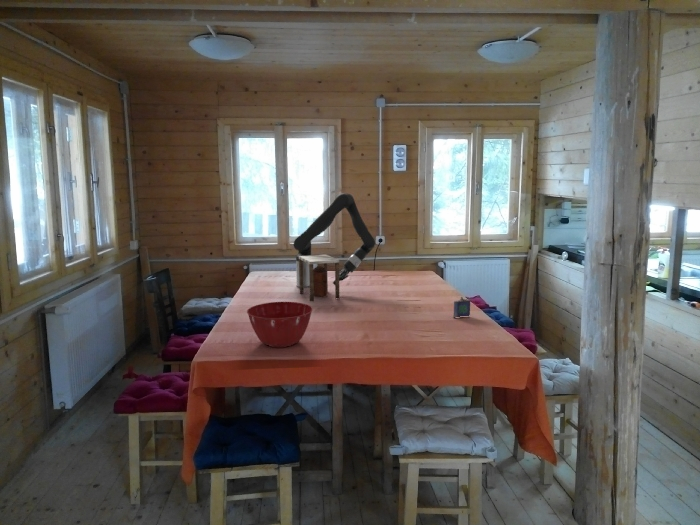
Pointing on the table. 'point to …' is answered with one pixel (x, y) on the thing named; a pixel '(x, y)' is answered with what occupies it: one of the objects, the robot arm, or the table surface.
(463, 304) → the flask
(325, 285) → the wooden figurine
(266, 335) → the mixing bowl
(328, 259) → the stand
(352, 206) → the robot arm
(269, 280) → the table surface
